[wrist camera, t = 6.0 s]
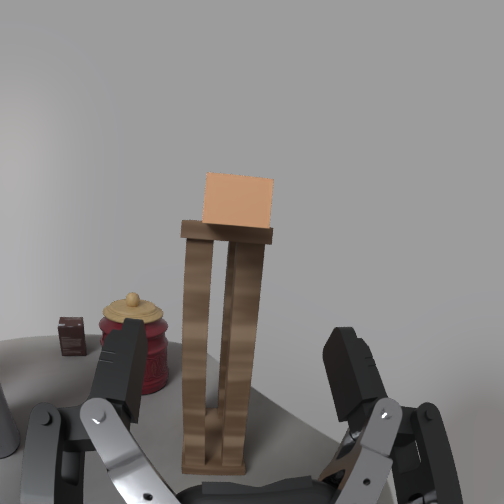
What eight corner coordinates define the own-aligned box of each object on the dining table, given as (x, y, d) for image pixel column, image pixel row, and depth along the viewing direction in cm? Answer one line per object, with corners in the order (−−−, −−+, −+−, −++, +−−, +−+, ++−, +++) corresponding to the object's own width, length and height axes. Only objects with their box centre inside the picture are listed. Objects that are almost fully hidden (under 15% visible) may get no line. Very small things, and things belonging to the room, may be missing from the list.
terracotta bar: (269, 228, 17) (273, 179, 17) (202, 222, 17) (207, 172, 16) (238, 223, 37) (240, 200, 37) (206, 221, 36) (209, 197, 36)
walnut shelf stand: (244, 475, 29) (273, 227, 26) (182, 473, 27) (181, 220, 24) (234, 415, 42) (251, 225, 39) (186, 413, 41) (192, 220, 38)
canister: (117, 402, 40) (108, 306, 38) (97, 368, 49) (90, 285, 48) (180, 387, 49) (181, 299, 47) (151, 359, 58) (150, 282, 57)
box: (86, 345, 58) (83, 316, 57) (86, 356, 53) (83, 326, 52) (63, 345, 55) (59, 316, 54) (61, 356, 50) (57, 326, 49)
